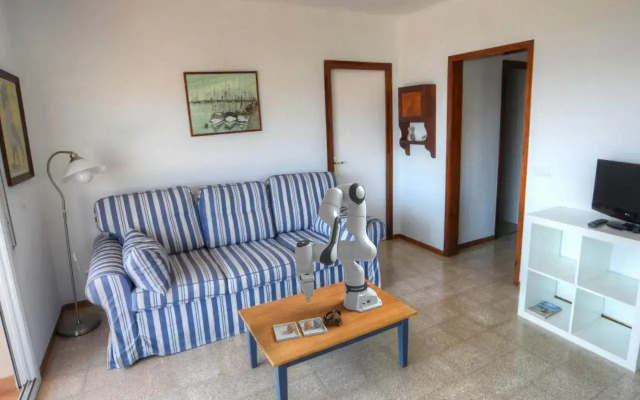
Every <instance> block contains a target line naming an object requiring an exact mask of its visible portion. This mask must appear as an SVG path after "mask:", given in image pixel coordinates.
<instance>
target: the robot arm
mask: <svg viewBox="0 0 640 400" xmlns="http://www.w3.org/2000/svg"><path fill="white" fill-rule="evenodd" d="M365 198H366V189H365V188H364V185H363V184H361V183H357V182H356V183H355V182H354V183H351V182H350V183H344V184H337V185H336V186H334V187H330V188H329V189H327V191H326V192H325V194H324V196H323V198H322V201H321V203H320V205H319V207H318V216H319V219H320V220H321V221H322V222H324V223H325V224H326V225H328V226H329V228H330V231H329V237H328V242H327V243H326V244H323V243H318V242H313V241H312V242H311V241H310V240H309V239H302V240H299V241H297V243H296V244H295V249H294V258H295V276H296V278H297V281H298V283H299V285H300V289H301V293H302V295H305V302H307V303H309V302H310V301H311V297H313V296H314V286H315V285H314V282H315V275H314V274H315V273H314V264H313V263H318V264H321V265H324V266H326V267H327V266H328V267H330V266H332V265H333V264H335V263H336V261H337V260H338V261H339V262H340V264H341V265H342V267H343V270H344V279H345V281H344V300H343V304H342V305H343V307H344V308H346V309H347V310H350V311H356V312H359V313H363V312H366V311H369V310H372V309H376V308H380V307H382V306H383V305H382V304H383V302H382V300H381V298H380V297H378V294H377V292H376V291H375V290H374V289H373V288H371V286H372V285H371V284H370V283H369V282H367V280H366V279H365V270H364V267H363V266H361V265H360V264H359V263H357V262H371V261H373V260H375V258H376V257H377V255H378V254H377V253H378V251H377V250H378V249H377V246H376V245H375V243H373V242H372V241H371V239H370V238H369V236H368V234H367V227H366V226H367V204H366V201H365ZM343 204H347V205H346V206H347V212H346V224H345V225H346V226H345V229H346V231H347V232H348V233H349V234H351V235H352V236H353V237H354V240H348V239H342V240H340V236H341V231H342V223H343V222H342V219H341V217H340V213H341V209H342V206H343Z"/></svg>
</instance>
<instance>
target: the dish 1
mask: <svg viewBox="0 0 640 400" xmlns="http://www.w3.org/2000/svg"><path fill="white" fill-rule="evenodd" d="M296 322H297V321H290V322H285V323H280V324H274V325H272V327H273V329H272V330H273V332H274V337H275V339H276V342H277V343H280V342H283V341H284V342H286V341H290V340H295V339H300V338H301V337H302V336H301V333H300V330H299V328H298V325H297V323H296ZM289 324H293V325H294V326H295V330H294V331H293V332H289V331H288V330H287V327H288V325H289Z"/></svg>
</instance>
